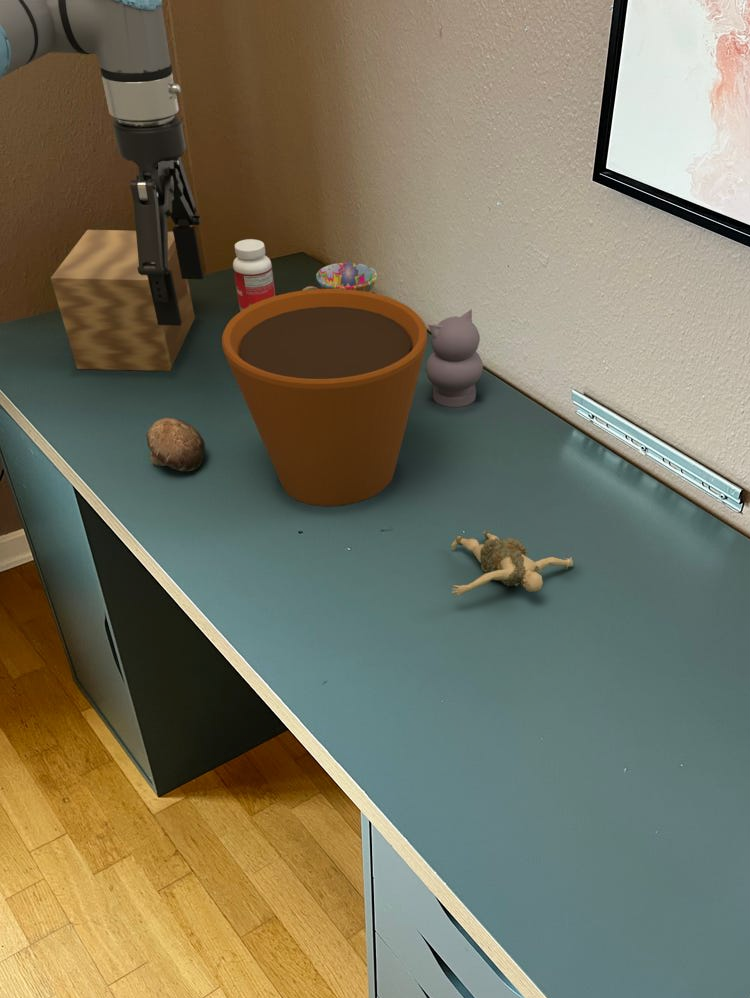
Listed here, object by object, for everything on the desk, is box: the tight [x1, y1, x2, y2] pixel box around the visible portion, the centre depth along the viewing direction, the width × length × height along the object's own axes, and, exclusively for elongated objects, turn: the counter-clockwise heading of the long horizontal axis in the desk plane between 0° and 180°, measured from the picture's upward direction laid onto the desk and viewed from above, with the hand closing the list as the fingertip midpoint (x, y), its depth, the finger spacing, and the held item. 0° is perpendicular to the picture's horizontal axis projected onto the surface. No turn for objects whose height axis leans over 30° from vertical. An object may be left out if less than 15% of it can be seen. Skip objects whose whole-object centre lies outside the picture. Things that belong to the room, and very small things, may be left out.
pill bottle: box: [232, 238, 276, 312], centre depth 155 cm, size 6×6×11 cm
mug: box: [301, 262, 378, 293], centre depth 149 cm, size 12×9×11 cm
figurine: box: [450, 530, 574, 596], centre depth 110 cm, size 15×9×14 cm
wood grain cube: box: [50, 229, 196, 372], centre depth 145 cm, size 14×18×14 cm
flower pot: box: [221, 288, 428, 507], centre depth 118 cm, size 24×24×20 cm
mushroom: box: [146, 417, 206, 472], centre depth 124 cm, size 8×8×6 cm
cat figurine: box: [425, 309, 484, 408], centre depth 136 cm, size 8×8×12 cm
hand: (182, 300), depth 121 cm, fingers open, 13 cm apart
